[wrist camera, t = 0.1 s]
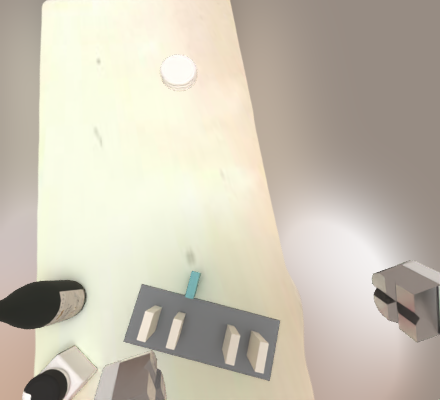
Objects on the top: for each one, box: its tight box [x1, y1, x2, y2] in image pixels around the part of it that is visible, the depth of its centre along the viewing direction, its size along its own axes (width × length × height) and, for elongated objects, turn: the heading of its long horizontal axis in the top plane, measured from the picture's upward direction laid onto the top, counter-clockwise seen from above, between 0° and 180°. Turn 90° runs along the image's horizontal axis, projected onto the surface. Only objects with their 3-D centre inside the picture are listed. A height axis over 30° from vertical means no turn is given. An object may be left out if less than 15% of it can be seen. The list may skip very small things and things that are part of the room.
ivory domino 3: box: [222, 324, 240, 366], centre depth 53 cm, size 2×5×10 cm, turn 166°
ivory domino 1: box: [137, 305, 162, 342], centre depth 54 cm, size 2×5×10 cm, turn 166°
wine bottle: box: [0, 280, 86, 329], centre depth 44 cm, size 8×8×30 cm
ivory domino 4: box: [246, 331, 269, 374], centre depth 53 cm, size 2×5×10 cm, turn 166°
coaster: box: [160, 55, 197, 91], centre depth 75 cm, size 10×10×4 cm
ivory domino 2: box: [166, 312, 186, 350], centre depth 53 cm, size 2×5×10 cm, turn 166°
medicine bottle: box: [22, 346, 97, 400], centre depth 49 cm, size 7×7×12 cm
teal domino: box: [185, 271, 201, 299], centre depth 56 cm, size 2×5×10 cm, turn 166°
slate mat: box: [124, 284, 280, 381], centre depth 58 cm, size 32×12×1 cm, turn 76°
